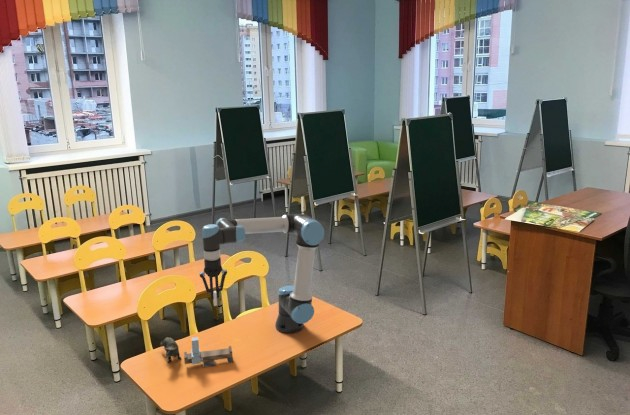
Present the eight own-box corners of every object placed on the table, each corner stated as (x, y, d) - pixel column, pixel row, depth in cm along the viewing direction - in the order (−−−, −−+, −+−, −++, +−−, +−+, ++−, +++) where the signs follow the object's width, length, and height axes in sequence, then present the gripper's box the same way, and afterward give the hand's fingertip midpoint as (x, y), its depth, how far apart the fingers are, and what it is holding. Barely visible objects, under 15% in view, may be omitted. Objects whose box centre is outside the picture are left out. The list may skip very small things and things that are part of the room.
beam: (231, 357, 243) (231, 345, 241) (233, 363, 238) (232, 351, 236) (184, 364, 237) (184, 351, 235) (185, 370, 232) (184, 357, 231)
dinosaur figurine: (160, 348, 250) (158, 328, 248) (177, 345, 254) (175, 325, 251) (165, 371, 231) (164, 349, 228) (184, 367, 234) (182, 346, 231)
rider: (200, 354, 239) (198, 334, 236) (200, 363, 232) (199, 342, 229) (191, 355, 238) (190, 335, 235) (192, 364, 231) (190, 343, 228)
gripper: (225, 253, 236) (228, 299, 242) (197, 256, 232) (200, 303, 239) (227, 259, 229) (230, 306, 235) (198, 262, 225) (201, 309, 232)
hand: (215, 304), depth 237 cm, fingers closed
